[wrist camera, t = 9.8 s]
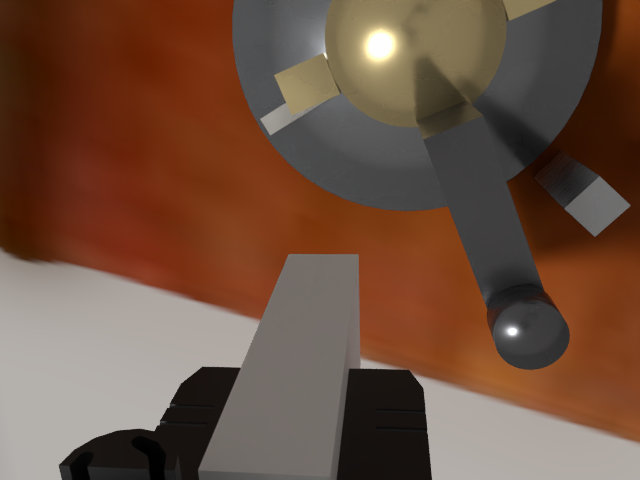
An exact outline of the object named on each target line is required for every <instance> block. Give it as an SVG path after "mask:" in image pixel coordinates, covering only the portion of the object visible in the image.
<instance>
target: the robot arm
mask: <svg viewBox="0 0 640 480" xmlns="http://www.w3.org/2000/svg"><path fill="white" fill-rule="evenodd" d="M59 469H60V473H61V477H62V480H432V476H431V464H430V454H429V444H428V434H427V422H426V414H425V400H424V391H423V387H422V386H421V385H420V384H419V382H418V381H417V380H416V378H415V377H414V376H413V374H412V373H411V372H410V371H409V370H392V369H360V320H359V264H358V254H289V255H288V257H287V260H286V262H285V264H284V267H283V269H282V272H281V274H280V276H279V279H278V281H277V283H276V286H275V288H274V291H273V293H272V295H271V298H270V300H269V302H268V305H267V307H266V310H265V312H264V314H263V317H262V319H261V322H260V324H259V326H258V329H257V331H256V333H255V336H254V339H253V341H252V343H251V345H250V348H249V350H248V353H247V355H246V357H245V360H244V362H243V364H242V367H241V368H230V367H202V368H200V369H199V370H198V371H197V372H196V373H194V374H193V375H192V376H190V377H189V378H188V379H187V380H185V381H184V382H183V383H181V385H180V387H179V389H178V390H177V392H176V394H175V396H174V397H173V399H172V401H171V403H170V408H167V410H166V412H165V413H164V415H163V417H162V419H161V420H160V426H157V427H156V429H155V431H149V430H144V429H131V430H120V431H115V432H112V433H109V434H106V435H103V436H99V437H96V438H94V439H92V440H91V441H89V442H87V443H85V444H84V445H82V446H80V447H79V448H77V449H75V450H74V451H73V452H72V453H71V454H70V455H69V456H68V457H67V458H66V459H65V460H64V461H63V462H62V463H61V464H60V465H59Z"/></svg>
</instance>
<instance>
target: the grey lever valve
mask: <svg viewBox="0 0 640 480" xmlns="http://www.w3.org/2000/svg"><path fill="white" fill-rule="evenodd" d="M554 1H556V0H332V1H331V4H330V7H329V11H328V14H327V19H326V25H325V49H326V53H325V52H324V53H322V54H320V55H317V56H315V57H313V58H311V59H308V60H306V61H304V62H302V63H300V64H297V65H295V66H293V67H291V68H289V69H286V70H284V71H282V72H280V73H278V74H275V75H274V76H275V78H276V81H277V83H278V85H279V87H280V90H281V92H282V94H283V97H284V99H285V101H286V103H287V106H288V108H289V110H290V113H291V115H294V114H296V113H298V112H300V111H303V110H305V109H307V108H310V107H312V106H314V105H317V104H319V103H321V102H323V101H326V100H328V99H330V98H333V97H335V96H337V95H340V94H341V91H342V93H343V94H344V95H345V96H346V98H347V99H348V100H349V101H350V102H351V103H352V104H353V105H354V106H355V107H356V108H358V109H359V110H360V111H362V112H363V113H365V114H366V115H367V116H369V117H371V118H373V119H375V120H377V121H380V122H383V123H386V124H389V125H393V126H398V127H419V130H420V132H421V135H422V138H423V141H424V143H425V146H426V149H427V151H428V154H429V157H430V159H431V162H432V165H433V167H434V170H435V172H436V175H437V178H438V180H439V183H440V186H441V188H442V191H443V193H444V196H445V199H446V201H447V204H448V207H449V209H450V212H451V215H452V217H453V220H454V222H455V225H456V228H457V230H458V233H459V236H460V238H461V241H462V244H463V246H464V249H465V251H466V254H467V257H468V259H469V262H470V265H471V267H472V270H473V272H474V275H475V278H476V280H477V283H478V286H479V288H480V291H481V294H482V296H483V299H484V301H485V304H486V307H487V309H488V310H487V322H488V326H489V328H490V331H491V334H492V337H493V340H494V342H495V345H496V348H497V351H498V353H499V354H500V356H501V357H502V358H503V359H504V360H505V361H506V362H507V363H509V364H510V365H512V366H514V367H517V368H521V369H528V370H533V369H540V368H543V367H546V366H549V365H551V364H552V363H554V362H555V361H557V360H558V359H559V358H560V357H561V356H562V355H563V353H564V352H565V350H566V349H567V346H568V343H569V337H570V334H569V328H568V326H567V323H566V322H565V320H564V318H563V317H562V315H561V314H560V312H559V310H558V309H557V307H556V305H555V304H554V302H553V301H552V299H551V297H550V296H549V295H548V294H547V293H546V292H545V291H544V289H543V286H542V283H541V280H540V278H539V275H538V272H537V269H536V266H535V263H534V260H533V257H532V254H531V251H530V249H529V246H528V243H527V240H526V237H525V234H524V231H523V228H522V225H521V223H520V220H519V217H518V214H517V211H516V208H515V205H514V202H513V199H512V197H511V194H510V191H509V188H508V185H507V182H506V179H505V176H504V173H503V171H502V168H501V165H500V162H499V159H498V156H497V153H496V150H495V147H494V145H493V142H492V139H491V136H490V133H489V130H488V127H487V124H486V121H485V118H484V116H483V115H482V114H481V113H480V112H479V111H478V110H477V109H475V108H474V107H473V106H472V105H471V104H472V103H473V102H475V101H476V100H477V98H478V97H479V96H480V95H481V94H482V93H483V92H484V91H485V89H486V88H487V86H488V85H489V84H490V82H491V80H492V79H493V77H494V75H495V73H496V72H497V69H498V67H499V64H500V62H501V59H502V55H503V52H504V48H505V41H506V25H507V23H506V21H510V20H512V19H515V18H517V17H519V16H522V15H524V14H526V13H529V12H531V11H533V10H535V9H538V8H540V7H542V6H545V5H547V4H549V3H552V2H554Z"/></svg>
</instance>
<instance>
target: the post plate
mask: <svg viewBox="0 0 640 480" xmlns="http://www.w3.org/2000/svg"><path fill="white" fill-rule="evenodd" d="M331 1H332V0H234V7H233V16H232V21H233V47H234V54H235V62H236V67H237V71H238V75H239V79H240V83H241V87H242V90H243V92H244V95H245V97H246V100H247V102H248V105H249V107H250V110H251V112H252V113H253V115H254V117H255V119H256V121H257V123H258V124H259V126H260V128H261V130H262V131H263V133H264V134H265V135H266V137H267V138H268V140H269V141H270V142H271V144H272V145H273V147H274V148H275V149H276V150H277V151H278V152H279V153H280V154H281V155H282V156H283V158H284V159H285V160H286V161H287V162H288V163H289V164H290V165H291V166H293V167H294V168H295V169H296V170H297V171H299V172H300V173H301V174H302V175H303V176H305V177H306V178H307V179H309V180H310V181H312V182H313V183H315V184H317V185H318V186H320V187H321V188H323V189H324V190H326V191H329V192H331V193H333V194H335V195H337V196H339V197H341V198H343V199H346V200H349V201H352V202H355V203H358V204H361V205H365V206H370V207H375V208H380V209H385V210H400V211H415V210H430V209H435V208H441V207H446V206H448V204H447V201H446V199H445V196H444V193H443V191H442V188H441V186H440V183H439V180H438V178H437V175H436V172H435V170H434V167H433V165H432V162H431V159H430V157H429V154H428V151H427V149H426V146H425V143H424V141H423V138H422V135H421V132H420V130H419V127H398V126H393V125H389V124H386V123H383V122H380V121H377V120H375V119H373V118H371V117H369V116H367V115H366V114H365V113H363V112H362V111H360V110H359V109H358V108H356V107H355V106H354V105H353V104H352V103H351V102H350V101H349V100H348V99H347V98H346V96H345V95H344V94H343V93H342V91H341V94H340V95H337V96H335V97H333V98H330V99H328V100H326V101H323V102H321V103H319V104H317V105H314V106H312V107H310V108H307V109H305V110H303V111H300V112H298V113H296V114H294V115H291V113H290V110H289V108H288V106H287V103H286V101H285V99H284V97H283V94H282V92H281V90H280V87H279V85H278V83H277V81H276V78H275V76H274V75H275V74H278V73H280V72H282V71H284V70H286V69H289V68H291V67H293V66H295V65H297V64H300V63H302V62H304V61H306V60H308V59H311V58H313V57H315V56H317V55H320V54H322V53H324V52H325V53H326V49H325V25H326V19H327V14H328V11H329V7H330V4H331ZM602 7H603V3H602V0H556V1H554V2H552V3H549V4H547V5H545V6H542V7H540V8H538V9H535V10H533V11H531V12H529V13H526V14H524V15H522V16H519V17H517V18H515V19H512V20H510V21H506V23H507V25H506V41H505V48H504V52H503V55H502V59H501V62H500V64H499V67H498V69H497V72H496V73H495V75H494V77H493V79H492V80H491V82H490V84H489V85H488V86H487V88H486V89H485V91H484V92H483V93H482V94H481V95H480V96H479V97H478V98H477V100H476V101H475V102H473V103H472V104H471V105H472V106H473V107H474V108H475V109H477V110H478V111H479V112H480V113H481V114H482V115H483V116H484V118H485V121H486V124H487V127H488V130H489V133H490V136H491V139H492V142H493V145H494V147H495V150H496V153H497V156H498V159H499V162H500V165H501V168H502V171H503V173H504V176H505V179H506V181H508V180H510V179H511V178H513V177H514V176H516V175H517V174H518V173H519V172H521V171H522V170H523V169H525V168H526V167H527V166H528V165H530V164H531V163H532V162H533V161H534V160H535V159H536V158H537V157H538V156H539V155H540V154H541V153H542V152H543V151H544V150H545V149H546V148H547V147H548V146H549V145H550V144H551V143H552V141H553V140H554V139H555V138H556V136H557V135H558V134H559V133H560V131H561V130H562V129H563V128H564V126H565V125H566V123H567V121H568V120H569V118H570V117H571V115H572V113H573V112H574V110H575V108H576V107H577V105H578V103H579V101H580V99H581V97H582V94H583V92H584V90H585V88H586V86H587V84H588V81H589V78H590V75H591V72H592V69H593V66H594V62H595V59H596V56H597V50H598V45H599V40H600V34H601V24H602ZM533 178H534V179H535V180H536V181H537V182H538V183H539V184H540V185H541V186H542V187H543V188H544V189H545V190H546V191H547V192H548V193H549V194H550V195H551V196H552V197H553V198H554V199H555V200H556V201H557V202H558V203H559V204H560V205H561V206H562V207H563V208H564V209H565V210H566V211H567V212H568V213H570V214H571V215H572V216H573V217H574V218H575V219H576V220H577V221H578V222H579V223H580V224H581V225H583V226H584V227H585V228H586V229H587V230H588V231H589V232H590V233H591V234H592V235H593V236H594V237H596V236H597V235H598V234H599V233H600V232H601V231H602V230H604V229H605V228H606V227H607V226H608V225H609V224H610V223H612V222H613V221H614V220H615V219H616V218H617V217H618V216H619V215H621V214H622V213H623V212H624V211H625V210H626V209H627V208H629V207H630V206H631V205H630V204H629V203H628V202H626V201H625V200H624V199H623V198H622V197H621V196H620V195H619V194H618V193H617V192H616V191H615V190H614V189H613V188H612V187H611V186H610V185H609V184H607V183H606V182H605V181H604V180H603V179H602V178H601V177H600V176H599V175H597V174H596V173H594V172H593V171H591V170H590V169H589V168H587V167H586V166H584V165H583V164H581V163H580V162H578V161H577V160H575V159H574V158H572V157H571V156H569V155H568V154H567V153H565V152H564V151H562V150H561V151H559V152H558V153H557V154H556V155H555V156H554V157H553V158H552V159H551V160H550V161H549V162H548V163H547V164H546V165H545V166H544V167H543V168H542V169H541V170H540V171H539V172H538V173H537V174H536V175H535V176H533Z"/></svg>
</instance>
